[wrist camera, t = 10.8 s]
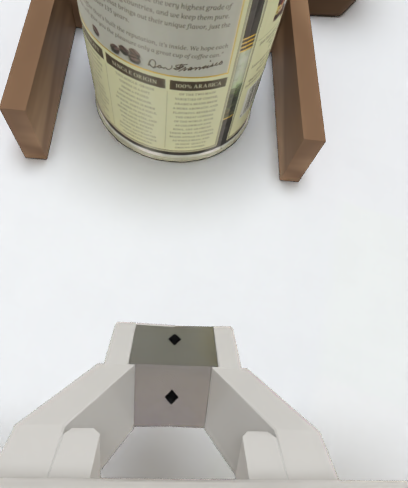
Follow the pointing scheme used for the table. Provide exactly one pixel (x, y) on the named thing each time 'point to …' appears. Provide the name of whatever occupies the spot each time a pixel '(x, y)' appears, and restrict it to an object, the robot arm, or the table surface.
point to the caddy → (56, 61)
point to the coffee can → (177, 70)
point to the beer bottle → (328, 7)
